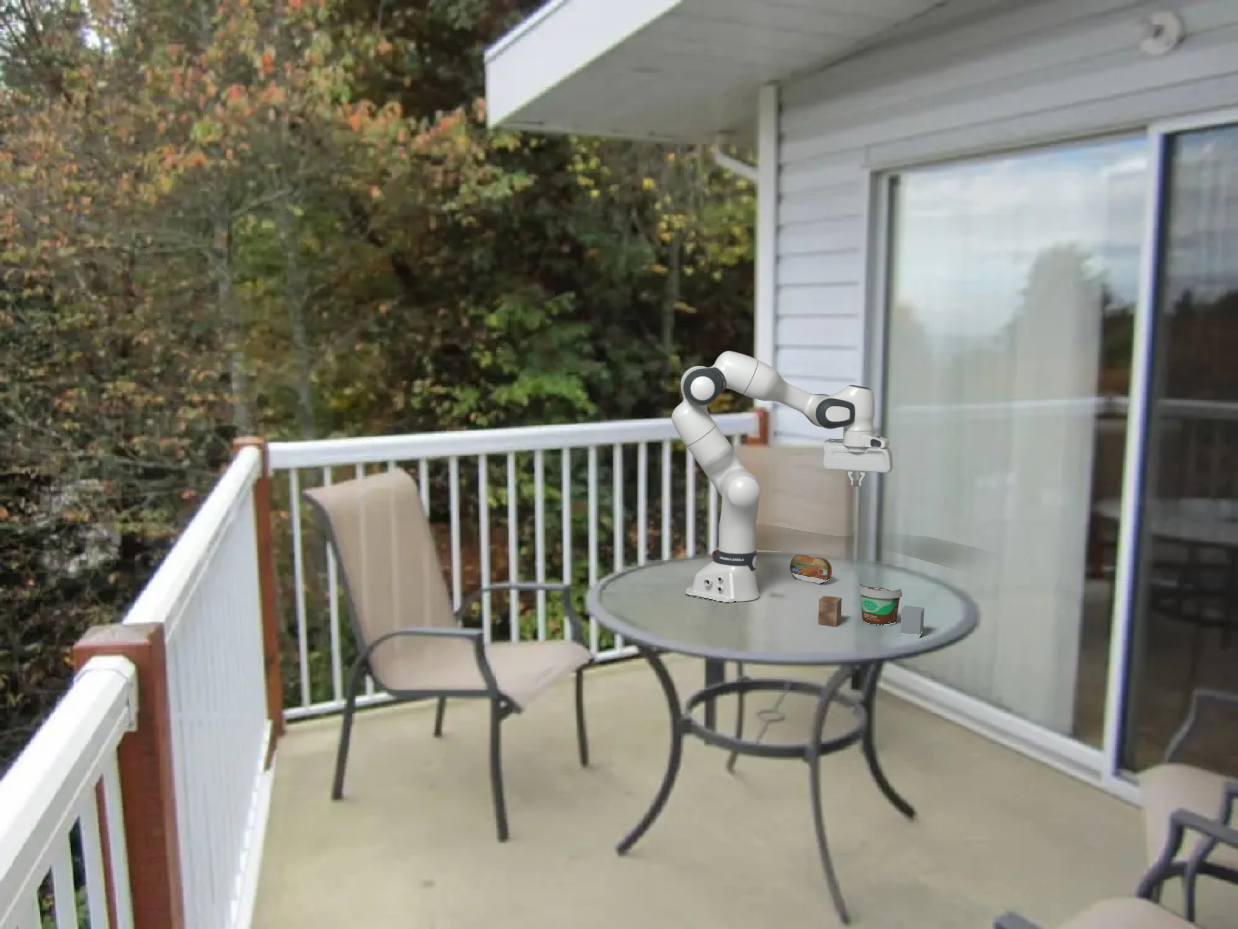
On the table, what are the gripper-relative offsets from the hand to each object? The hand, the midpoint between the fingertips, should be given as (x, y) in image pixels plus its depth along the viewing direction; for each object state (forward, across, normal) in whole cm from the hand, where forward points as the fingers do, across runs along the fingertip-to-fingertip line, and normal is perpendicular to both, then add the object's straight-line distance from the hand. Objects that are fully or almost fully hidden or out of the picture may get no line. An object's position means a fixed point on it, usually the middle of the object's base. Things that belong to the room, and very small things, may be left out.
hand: (856, 486), depth 294 cm
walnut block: (+34, +1, -31) cm, 46 cm away
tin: (+34, -17, +14) cm, 41 cm away
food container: (+34, +12, -25) cm, 44 cm away
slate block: (+34, +23, -31) cm, 52 cm away
